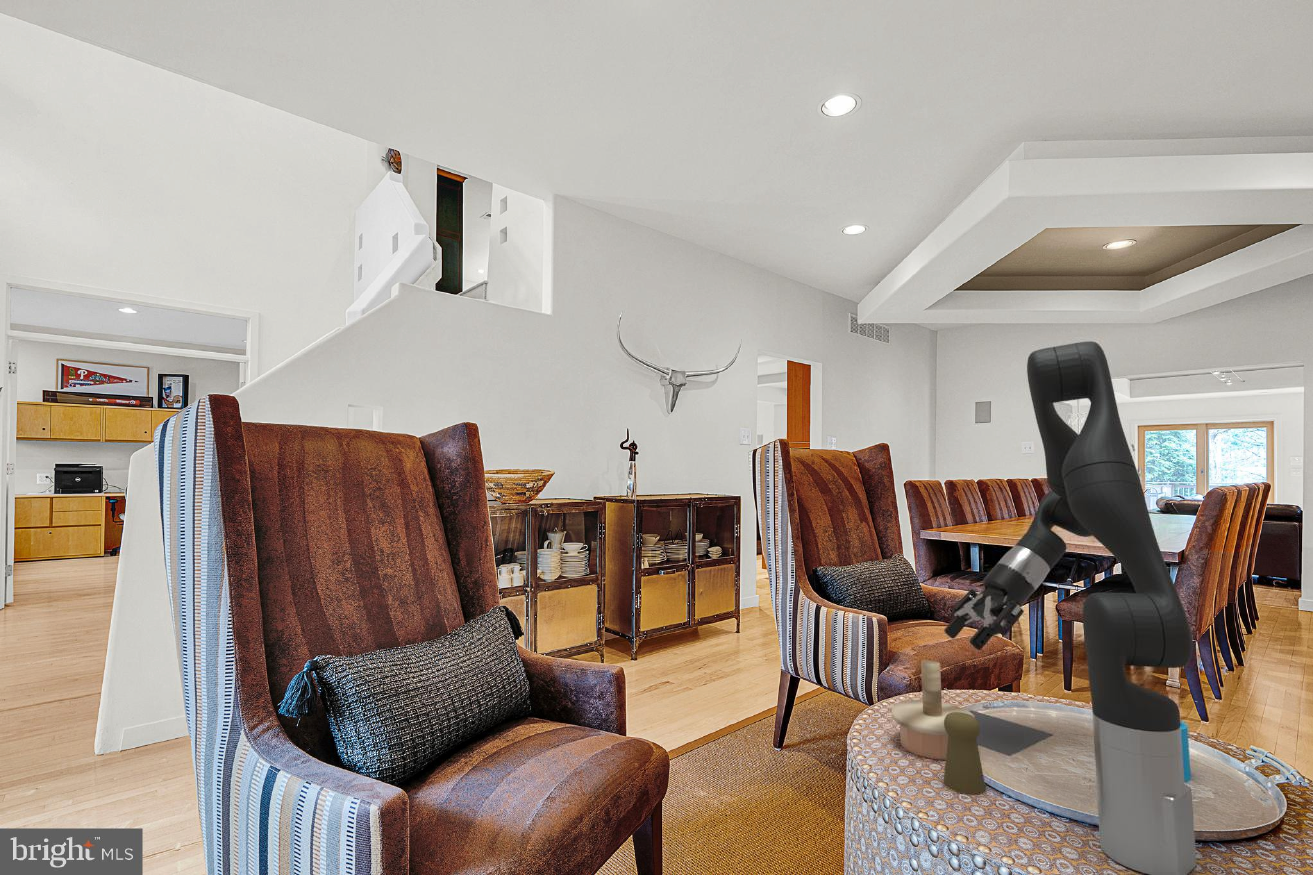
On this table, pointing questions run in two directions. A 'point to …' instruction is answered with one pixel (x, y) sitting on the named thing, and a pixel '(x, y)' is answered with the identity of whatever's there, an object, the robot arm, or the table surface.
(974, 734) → the olive pawn
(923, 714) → the lid
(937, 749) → the bowl
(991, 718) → the mat
